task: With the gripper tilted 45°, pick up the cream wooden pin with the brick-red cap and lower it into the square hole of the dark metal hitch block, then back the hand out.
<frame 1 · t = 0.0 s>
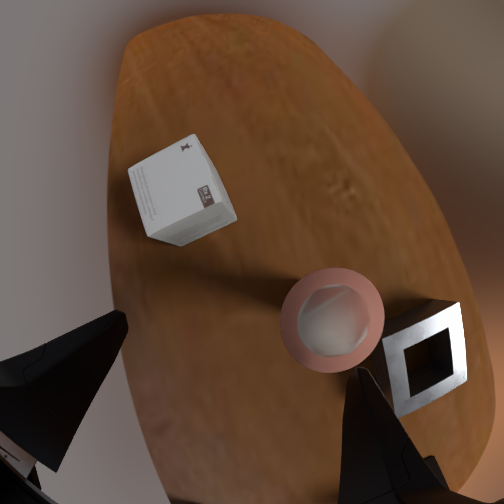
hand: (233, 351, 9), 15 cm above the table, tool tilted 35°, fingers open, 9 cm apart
phone stand: (407, 484, 20), on the table
hitch block: (409, 350, 22), on the table
skincare box: (198, 207, 26), on the table
pin: (306, 298, 24), on the table
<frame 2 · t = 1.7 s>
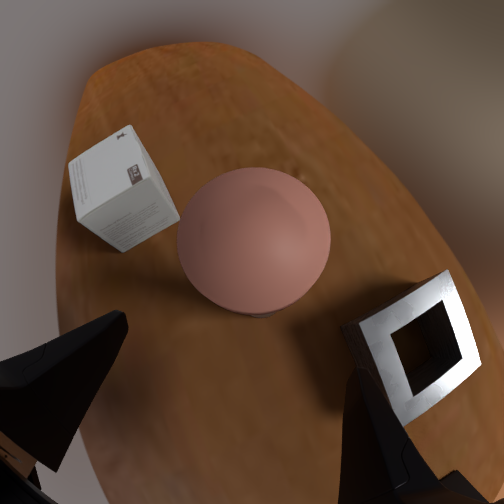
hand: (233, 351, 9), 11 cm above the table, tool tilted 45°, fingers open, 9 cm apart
hitch block: (400, 347, 19), on the table
skincare box: (142, 212, 24), on the table
pin: (261, 296, 20), on the table
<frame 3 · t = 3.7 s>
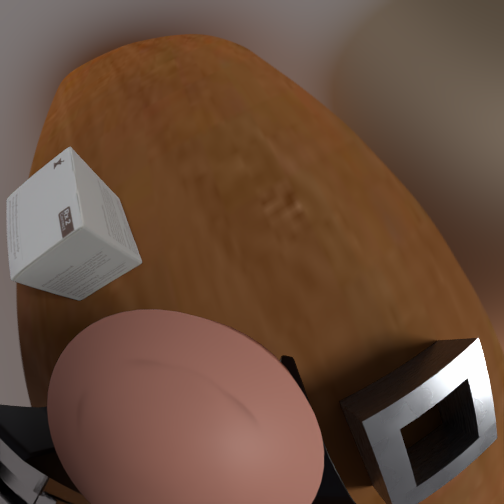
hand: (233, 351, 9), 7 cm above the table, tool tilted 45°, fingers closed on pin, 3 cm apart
hitch block: (409, 418, 13), on the table
skincare box: (100, 250, 18), on the table
pin: (241, 367, 15), on the table, touching gripper
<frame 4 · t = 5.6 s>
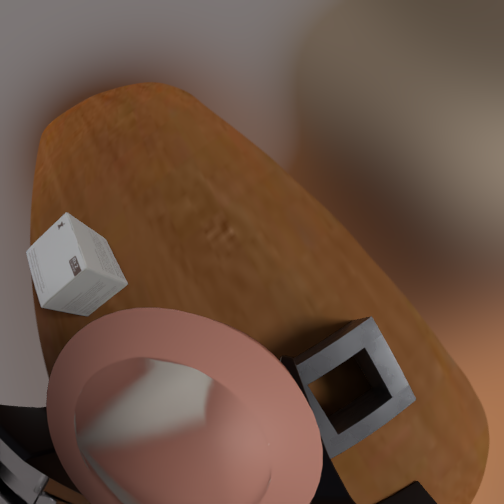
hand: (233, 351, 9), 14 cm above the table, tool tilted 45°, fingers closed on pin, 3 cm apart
hitch block: (337, 382, 21), on the table
skincare box: (97, 278, 25), on the table
pin: (241, 366, 15), point 7 cm above the table, touching gripper
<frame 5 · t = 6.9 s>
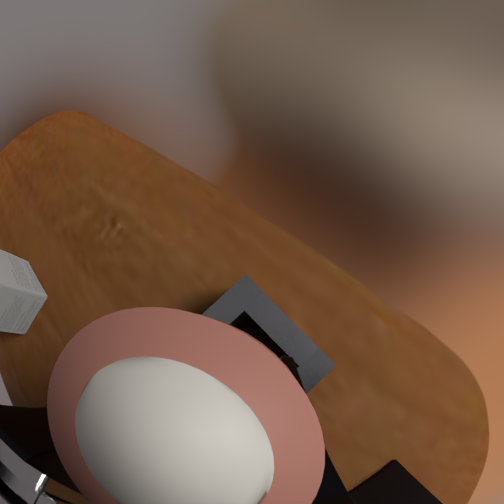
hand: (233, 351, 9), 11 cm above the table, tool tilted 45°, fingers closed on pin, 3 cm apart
phone stand: (386, 499, 15), on the table
hitch block: (247, 358, 20), on the table
skincare box: (27, 298, 22), on the table
pin: (241, 366, 15), point 5 cm above the table, touching gripper
when the fingers open (8 cm above the table, at t = 7.8 s): pin drops 1 cm, resting in hitch block.
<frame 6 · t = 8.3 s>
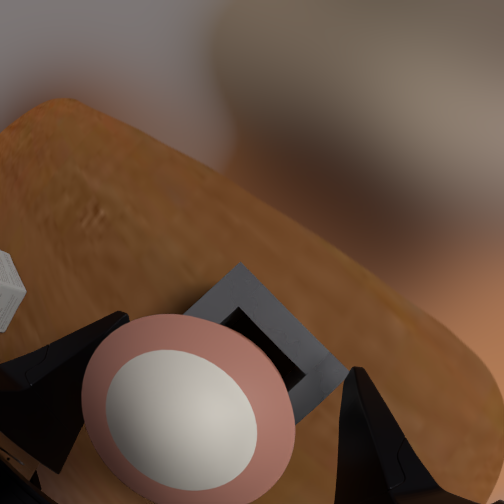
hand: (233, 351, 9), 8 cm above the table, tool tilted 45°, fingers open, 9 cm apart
hitch block: (244, 364, 17), on the table
skincare box: (7, 293, 19), on the table
pin: (241, 365, 17), resting in hitch block
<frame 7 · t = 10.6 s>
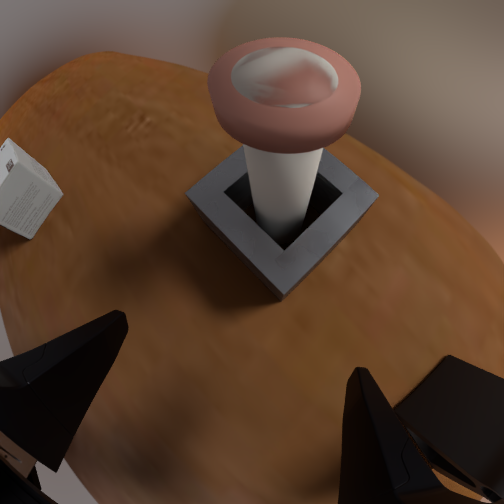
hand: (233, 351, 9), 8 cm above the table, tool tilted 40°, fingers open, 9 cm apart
phone stand: (441, 416, 15), on the table
hitch block: (281, 220, 19), on the table
skincare box: (39, 203, 22), on the table
pin: (279, 221, 19), resting in hitch block
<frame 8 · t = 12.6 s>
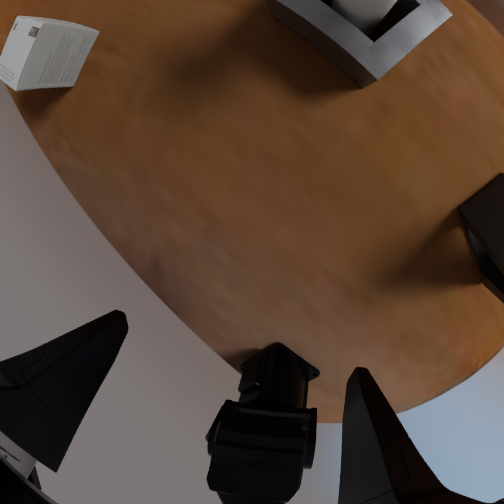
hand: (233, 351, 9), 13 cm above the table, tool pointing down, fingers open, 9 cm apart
phone stand: (493, 230, 17), on the table
hitch block: (354, 18, 12), on the table
skincare box: (72, 52, 16), on the table
pin: (352, 19, 13), resting in hitch block
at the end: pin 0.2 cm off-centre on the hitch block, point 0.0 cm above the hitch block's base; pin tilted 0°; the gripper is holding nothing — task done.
